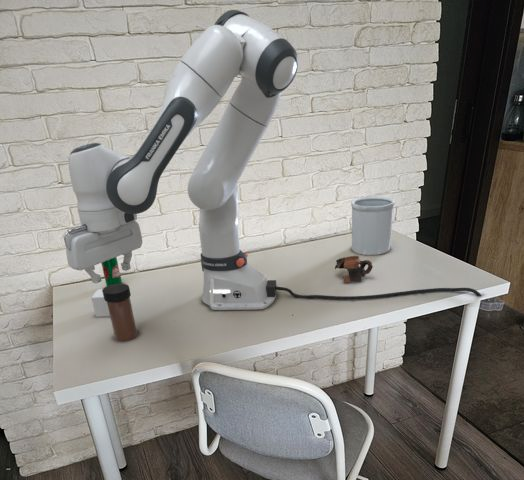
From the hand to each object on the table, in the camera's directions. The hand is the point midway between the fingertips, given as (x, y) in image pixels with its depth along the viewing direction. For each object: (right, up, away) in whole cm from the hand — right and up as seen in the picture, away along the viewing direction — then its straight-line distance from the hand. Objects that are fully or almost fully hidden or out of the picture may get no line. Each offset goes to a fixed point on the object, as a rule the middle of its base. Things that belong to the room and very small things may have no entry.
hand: (112, 275), depth 118 cm
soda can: (-12, +2, +40) cm, 42 cm away
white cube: (-8, -7, +23) cm, 25 cm away
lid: (0, -3, +2) cm, 4 cm away
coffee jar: (+1, -15, +9) cm, 17 cm away
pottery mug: (+66, +5, +35) cm, 75 cm away
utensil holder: (+77, +19, +58) cm, 98 cm away
